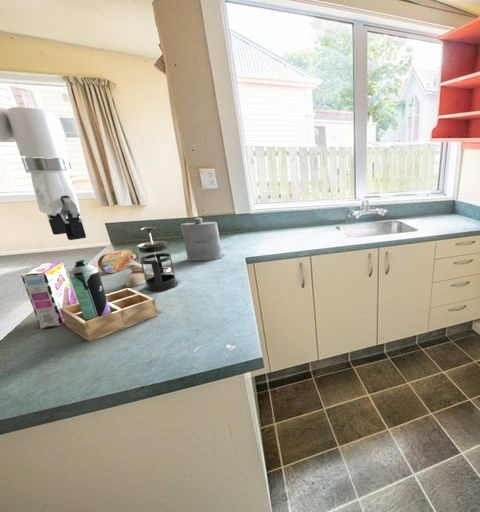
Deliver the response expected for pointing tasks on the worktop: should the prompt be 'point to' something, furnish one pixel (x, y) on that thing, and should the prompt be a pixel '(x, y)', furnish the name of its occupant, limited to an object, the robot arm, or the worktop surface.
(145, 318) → the tray
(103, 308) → the spray can
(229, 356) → the worktop surface
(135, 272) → the chocolate bunny
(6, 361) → the worktop surface
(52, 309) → the candy bar box
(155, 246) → the french press
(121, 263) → the tin
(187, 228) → the flask
